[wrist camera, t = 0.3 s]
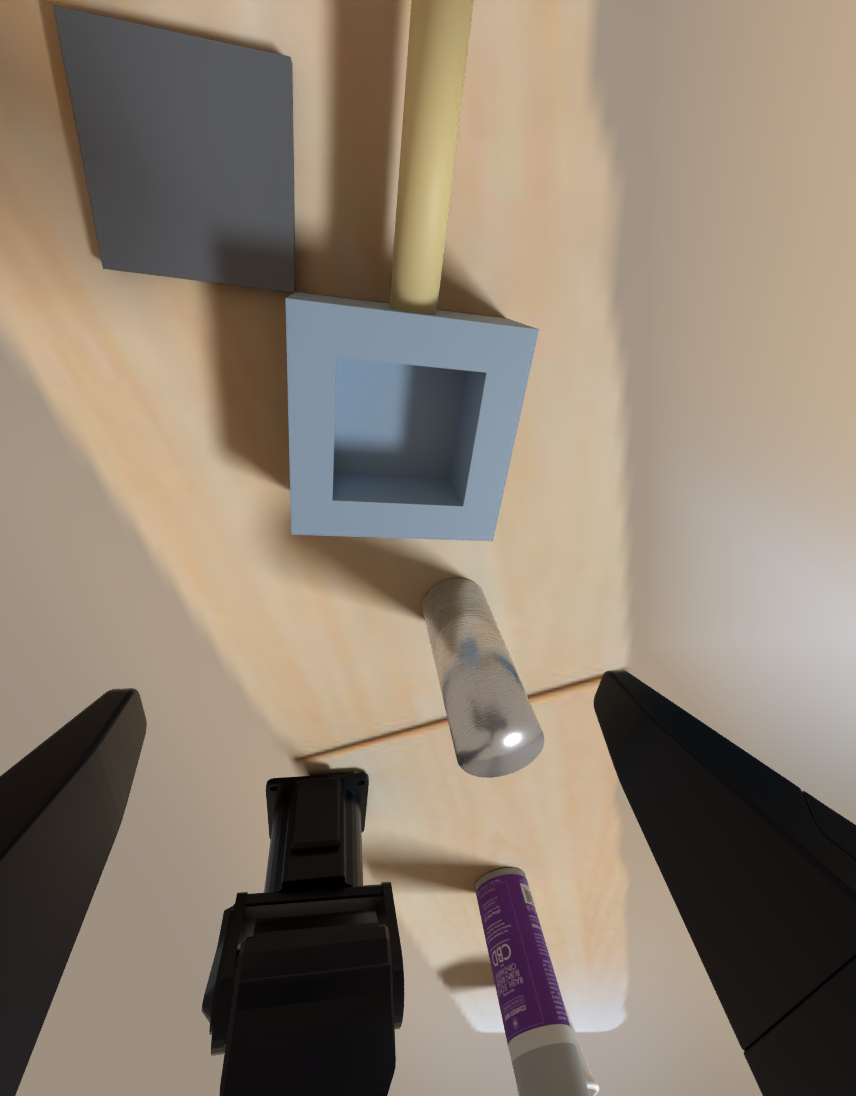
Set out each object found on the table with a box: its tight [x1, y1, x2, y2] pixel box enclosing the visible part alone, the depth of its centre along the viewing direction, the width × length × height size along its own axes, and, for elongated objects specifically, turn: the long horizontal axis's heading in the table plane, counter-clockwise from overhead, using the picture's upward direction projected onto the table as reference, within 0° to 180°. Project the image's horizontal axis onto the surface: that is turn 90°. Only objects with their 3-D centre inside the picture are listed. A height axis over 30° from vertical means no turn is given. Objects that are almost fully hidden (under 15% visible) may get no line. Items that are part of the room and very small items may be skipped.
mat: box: [53, 5, 296, 293], centre depth 15 cm, size 6×6×1 cm
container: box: [475, 868, 590, 1096], centre depth 36 cm, size 5×5×15 cm
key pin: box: [423, 578, 544, 777], centre depth 22 cm, size 3×3×9 cm
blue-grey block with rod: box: [285, 0, 539, 541], centre depth 16 cm, size 16×8×4 cm, turn 173°
